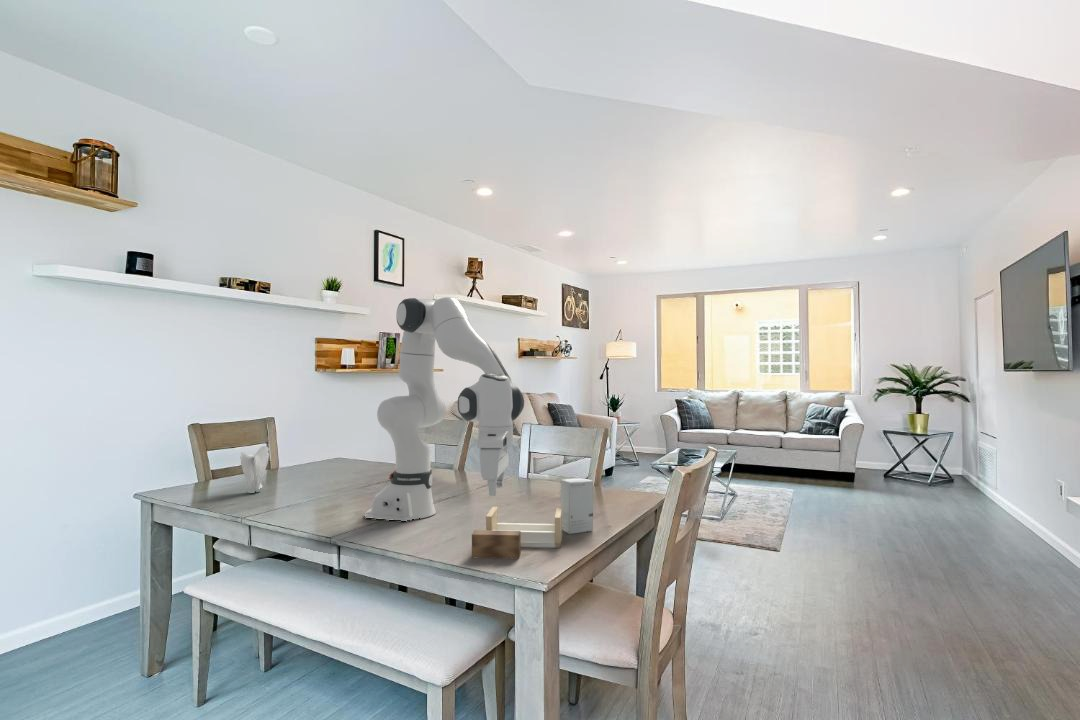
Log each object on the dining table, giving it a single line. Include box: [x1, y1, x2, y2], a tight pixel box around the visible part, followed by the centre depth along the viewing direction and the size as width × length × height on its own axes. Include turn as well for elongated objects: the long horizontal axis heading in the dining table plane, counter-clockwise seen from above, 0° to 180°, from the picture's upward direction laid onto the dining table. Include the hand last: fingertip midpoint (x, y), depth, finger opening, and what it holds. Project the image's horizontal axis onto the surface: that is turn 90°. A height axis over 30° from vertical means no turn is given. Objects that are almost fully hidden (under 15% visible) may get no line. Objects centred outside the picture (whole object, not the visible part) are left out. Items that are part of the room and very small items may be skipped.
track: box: [485, 506, 563, 549], centre depth 151 cm, size 20×10×8 cm, turn 85°
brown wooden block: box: [471, 529, 522, 560], centre depth 140 cm, size 12×4×6 cm, turn 85°
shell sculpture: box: [240, 445, 270, 490], centre depth 212 cm, size 8×8×18 cm
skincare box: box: [560, 477, 594, 535], centre depth 161 cm, size 8×6×15 cm
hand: (496, 491), depth 140 cm, fingers open, 8 cm apart
